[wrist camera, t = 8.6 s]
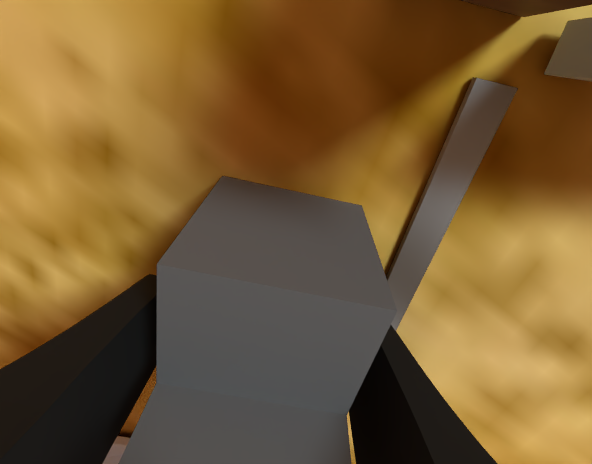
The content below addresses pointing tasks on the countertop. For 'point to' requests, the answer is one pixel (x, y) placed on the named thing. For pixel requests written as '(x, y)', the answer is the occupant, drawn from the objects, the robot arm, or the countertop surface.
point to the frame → (457, 164)
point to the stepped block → (263, 330)
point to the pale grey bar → (573, 52)
